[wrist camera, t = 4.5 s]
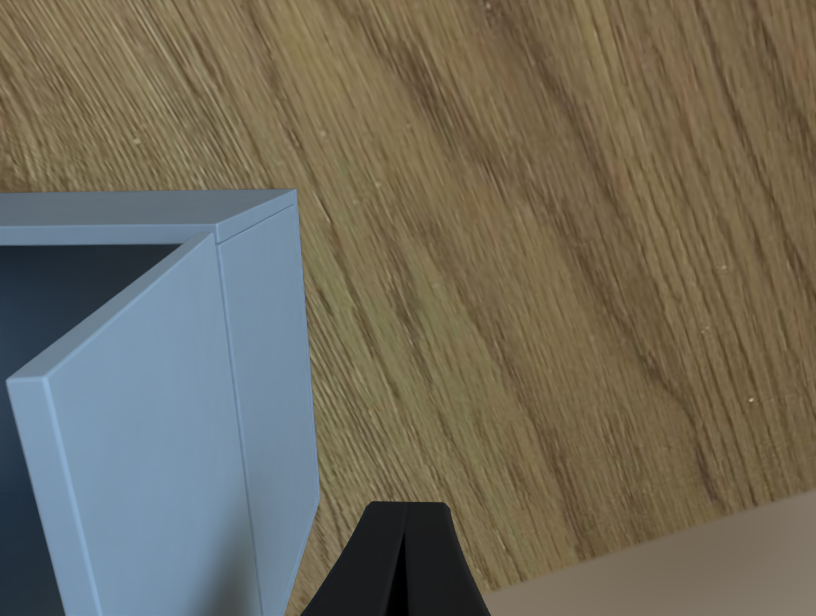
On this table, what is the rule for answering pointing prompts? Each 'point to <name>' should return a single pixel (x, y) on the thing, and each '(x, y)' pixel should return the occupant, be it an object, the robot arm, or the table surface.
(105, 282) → the carton
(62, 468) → the flap
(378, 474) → the table surface
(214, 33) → the table surface
